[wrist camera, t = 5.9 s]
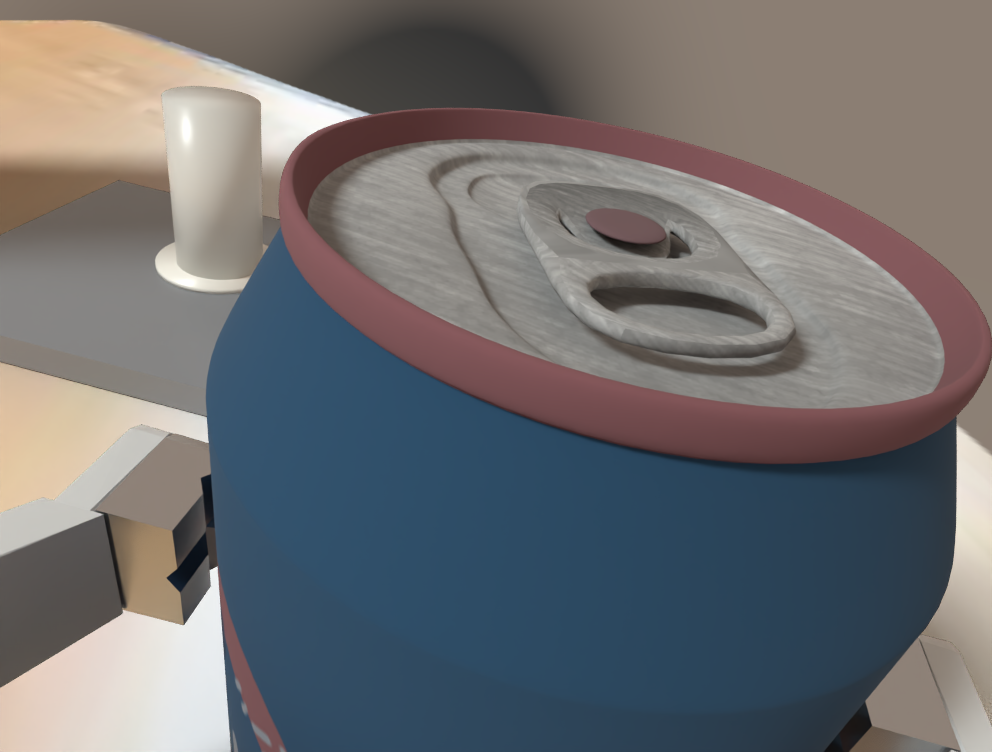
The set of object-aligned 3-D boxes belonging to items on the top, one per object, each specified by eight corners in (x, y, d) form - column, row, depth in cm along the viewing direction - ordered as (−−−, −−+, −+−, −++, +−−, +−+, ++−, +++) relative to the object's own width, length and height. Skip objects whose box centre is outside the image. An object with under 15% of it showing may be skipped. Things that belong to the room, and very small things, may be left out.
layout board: (-128, 327, 21) (-219, 88, 17) (121, 202, 31) (99, 31, 27) (713, 551, 20) (820, 341, 16) (694, 343, 30) (756, 183, 26)
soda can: (263, 672, 15) (249, 57, 8) (578, 655, 16) (785, 133, 10) (210, 1165, 9) (13, 496, 2) (696, 1065, 11) (1391, 502, 4)
